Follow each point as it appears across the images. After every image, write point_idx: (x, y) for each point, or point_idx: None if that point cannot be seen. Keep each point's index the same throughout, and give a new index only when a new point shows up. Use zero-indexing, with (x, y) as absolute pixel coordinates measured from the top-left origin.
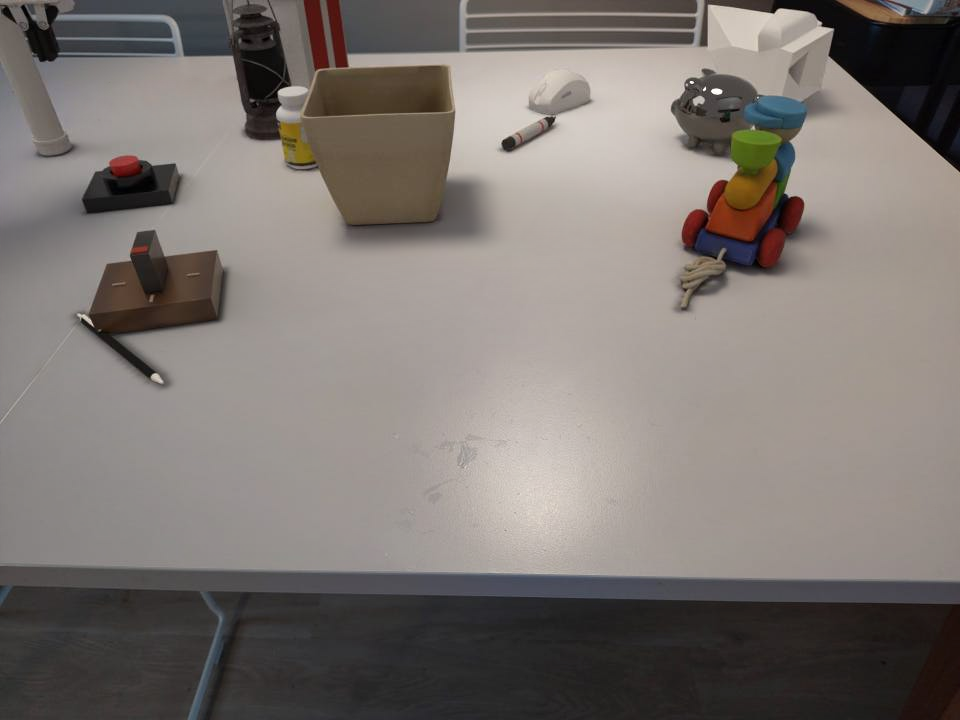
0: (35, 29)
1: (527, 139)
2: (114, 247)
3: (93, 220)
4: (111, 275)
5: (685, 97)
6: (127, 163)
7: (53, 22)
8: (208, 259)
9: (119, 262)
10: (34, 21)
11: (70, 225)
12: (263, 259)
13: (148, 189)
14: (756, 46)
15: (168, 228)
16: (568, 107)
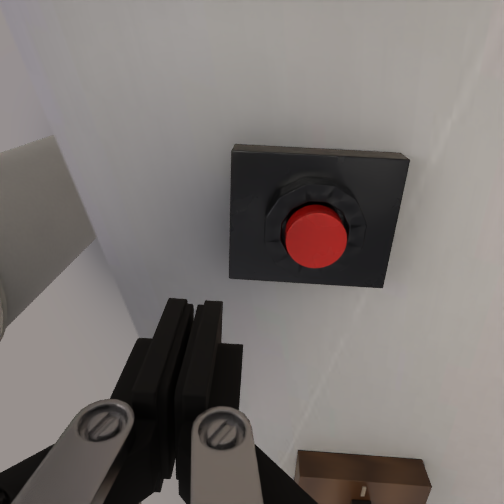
0: (161, 452)
1: None
2: (288, 377)
3: (246, 292)
4: None
5: None
6: (326, 261)
7: (248, 422)
8: (418, 500)
9: (314, 478)
10: (145, 449)
11: (212, 298)
12: (474, 452)
13: (347, 275)
14: None
15: (364, 350)
16: None
